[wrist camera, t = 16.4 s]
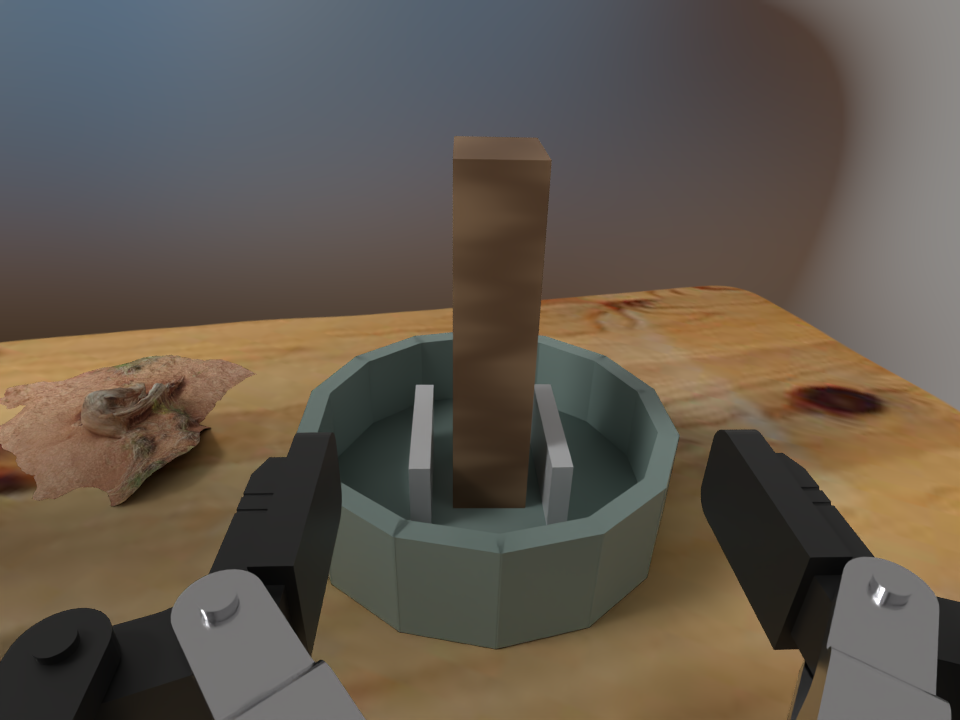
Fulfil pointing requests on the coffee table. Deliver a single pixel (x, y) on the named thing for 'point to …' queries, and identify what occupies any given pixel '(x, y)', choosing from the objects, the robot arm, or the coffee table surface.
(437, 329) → the coffee table surface
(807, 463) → the coffee table surface
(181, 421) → the clay slab
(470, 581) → the slotted round holder
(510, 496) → the tall wooden post
